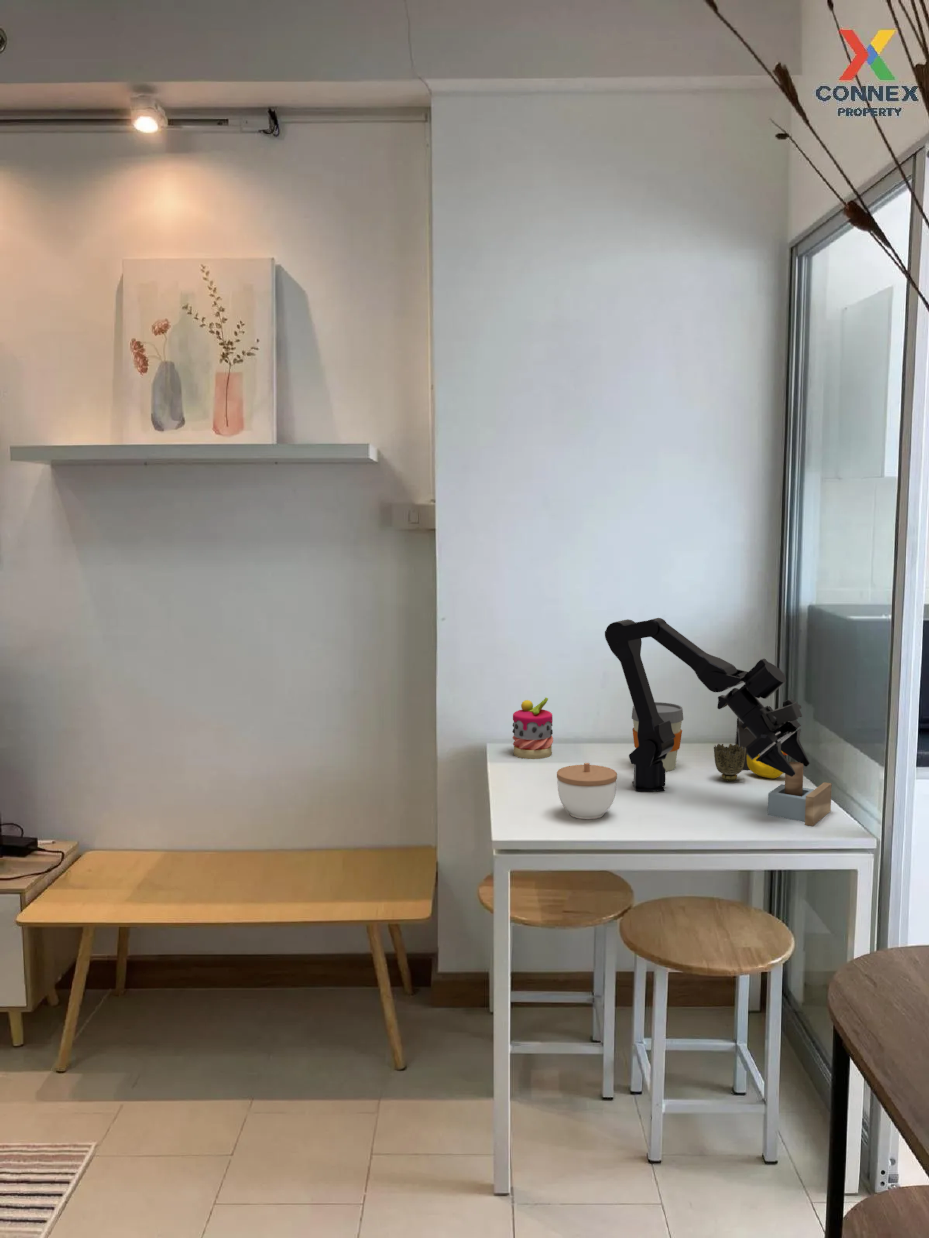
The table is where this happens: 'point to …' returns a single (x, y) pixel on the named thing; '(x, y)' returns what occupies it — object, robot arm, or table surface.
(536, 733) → the cake
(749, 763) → the duckling
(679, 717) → the reusable coffee cup
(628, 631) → the robot arm
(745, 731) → the phone stand
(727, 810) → the table surface
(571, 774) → the lidded bowl
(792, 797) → the socket block
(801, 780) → the dowel
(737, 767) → the cup
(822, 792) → the backstop board
